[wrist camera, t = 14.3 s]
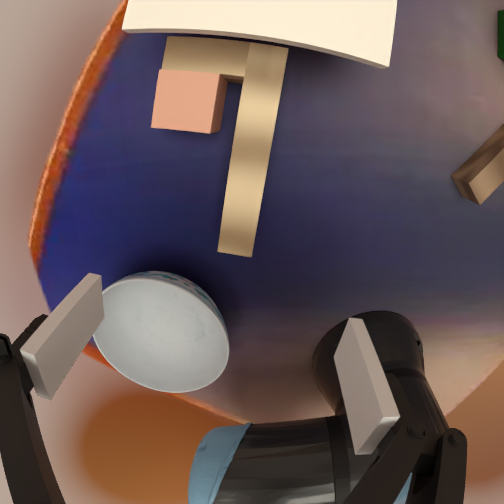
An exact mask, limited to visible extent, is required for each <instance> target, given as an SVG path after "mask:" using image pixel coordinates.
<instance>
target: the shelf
mask: <svg viewBox="0 0 504 504" xmlns="http://www.w3.org/2000/svg"><path fill="white" fill-rule="evenodd" d="M396 6H397V0H129V1H128V5H127V9H126V13H125V17H124V22H123V26H122V30H124V31H126V32H127V33H193V34H209V35H221V36H231V37H240V38H248V39H256V40H263V41H269V42H275V43H281V44H286V45H292V46H297V47H302V48H307V49H311V50H316V51H320V52H324V53H328V54H332V55H336V56H340V57H344V58H347V59H351V60H354V61H358V62H361V63H364V64H368V65H371V66H374V67H377V68H380V69H384V68H387V67H389V62H390V55H391V48H392V41H393V33H394V25H395V16H396Z"/></svg>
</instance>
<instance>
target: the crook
mask: <svg viewBox="0 0 504 504" xmlns="http://www.w3.org/2000/svg"><path fill="white" fill-rule="evenodd" d="M288 49H289V48H284V47H278V46H272V45H266V44H259V43H252V42H244V41H235V40H225V39H214V38H200V37H177V36H168V37H167V42H166V48H165V53H164V58H163V64H162V70H181V71H196V72H207V73H218V74H220V75H222V76H223V77H224V78H225V79H226V80H227V81H228V82H233V83H241V84H243V86H242V92H241V98H240V104H239V110H238V116H237V122H236V128H235V134H234V141H233V147H232V154H231V160H230V167H229V173H228V180H227V187H226V194H225V201H224V208H223V215H222V222H221V230H220V237H219V245H218V252H222V253H228V254H235V255H241V256H247V257H252V251H253V246H254V240H255V234H256V229H257V223H258V218H259V212H260V206H261V201H262V195H263V189H264V184H265V178H266V173H267V167H268V161H269V156H270V150H271V144H272V139H273V133H274V128H275V122H276V116H277V111H278V105H279V99H280V94H281V88H282V83H283V77H284V71H285V66H286V60H287V54H288Z"/></svg>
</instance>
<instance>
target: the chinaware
mask: <svg viewBox="0 0 504 504" xmlns="http://www.w3.org/2000/svg"><path fill="white" fill-rule="evenodd" d="M102 295H103V307H104V317H105V318H104V319H103V321H102V322H101V324H100V325H99V327H98V328H97V329H96V331H95V332H94V334H93V337H94V340H95V342H96V344H97V346H98V348H99V350H100V352H101V353H102V355H103V356H104V357H105V359H106V360H107V361H108V362H109V363H110V364H111V365H112V366H113V367H114V368H115V369H116V370H117V371H119V372H120V373H121V374H122V375H124V376H125V377H127V378H128V379H130V380H132V381H134V382H136V383H138V384H140V385H142V386H145V387H147V388H150V389H154V390H158V391H163V392H171V393H183V392H190V391H195V390H198V389H201V388H204V387H206V386H208V385H209V384H211V383H212V382H214V381H215V380H216V379H217V378H218V377H219V376H220V375H221V374H222V372H223V371H224V369H225V367H226V365H227V362H228V359H229V339H228V333H227V329H226V326H225V322H224V320H223V317H222V315H221V313H220V311H219V309H218V308H217V306H216V304H215V303H214V302H213V300H212V299H211V298H210V297H209V295H208V294H207V293H206V292H205V291H204V290H202V289H201V288H200V287H199V286H198V285H196V284H195V283H193V282H192V281H190V280H188V279H186V278H184V277H182V276H179V275H176V274H173V273H169V272H163V271H146V272H139V273H135V274H132V275H129V276H126V277H124V278H122V279H120V280H118V281H116V282H115V283H113V284H112V285H110V286H109V287H107V288H106V289H105V290H104V291H103V292H102Z"/></svg>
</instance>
